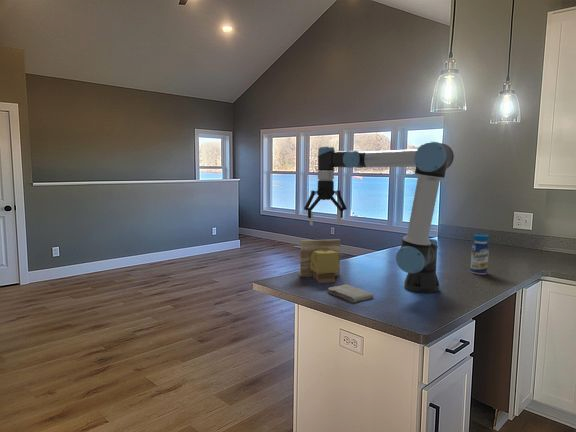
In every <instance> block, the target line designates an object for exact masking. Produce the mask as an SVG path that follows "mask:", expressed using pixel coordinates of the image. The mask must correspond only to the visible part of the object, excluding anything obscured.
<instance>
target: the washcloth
mask: <svg viewBox="0 0 576 432" xmlns="http://www.w3.org/2000/svg"><path fill="white" fill-rule="evenodd" d="M326 292H327V293H328V292H329V293H328V294H331V295H332V294H333V296H334V297H337V296H339V297H338V298H340V297H341V298H340V299H342V298H344V299H343V300H345V299H346V300H345V301H347V300H349V301H348V302H350V303H358V301H359V302H361V301H367V300H371V299H373V298H374V294H373V293H371V292H369V291H366V290H364V289H362V288H358V287H356V286H352V285H350V284H342V285H339V286H338V285H334V286H330V287H328V288H327V290H326Z"/></svg>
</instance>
